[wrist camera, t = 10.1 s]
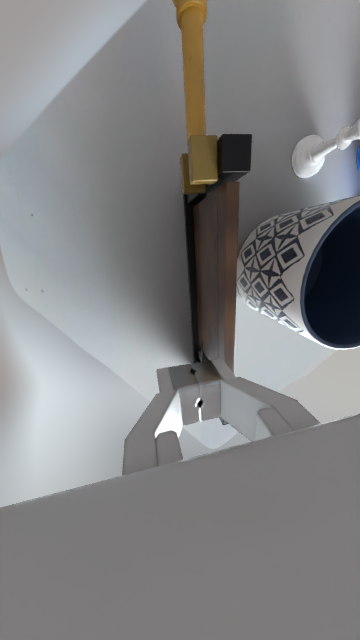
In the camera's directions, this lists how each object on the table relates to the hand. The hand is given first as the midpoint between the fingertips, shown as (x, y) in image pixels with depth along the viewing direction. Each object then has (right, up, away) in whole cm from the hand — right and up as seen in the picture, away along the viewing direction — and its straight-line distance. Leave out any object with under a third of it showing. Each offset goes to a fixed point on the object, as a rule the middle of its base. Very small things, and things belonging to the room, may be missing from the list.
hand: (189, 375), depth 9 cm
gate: (+3, +7, +22) cm, 23 cm away
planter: (+16, +12, +24) cm, 31 cm away
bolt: (0, +23, +7) cm, 24 cm away
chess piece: (+18, +26, +19) cm, 37 cm away
